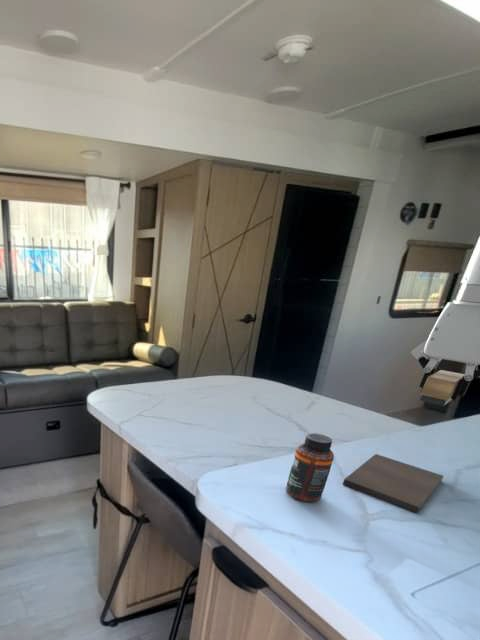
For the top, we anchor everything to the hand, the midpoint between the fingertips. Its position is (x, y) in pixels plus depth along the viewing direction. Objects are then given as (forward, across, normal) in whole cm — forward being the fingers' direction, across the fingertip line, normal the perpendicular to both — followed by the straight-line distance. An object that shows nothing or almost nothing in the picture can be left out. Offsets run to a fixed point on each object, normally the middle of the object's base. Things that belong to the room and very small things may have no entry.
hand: (439, 394), depth 79 cm
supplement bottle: (+16, +8, +31) cm, 36 cm away
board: (+16, 0, +12) cm, 20 cm away
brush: (+1, 0, 0) cm, 1 cm away
